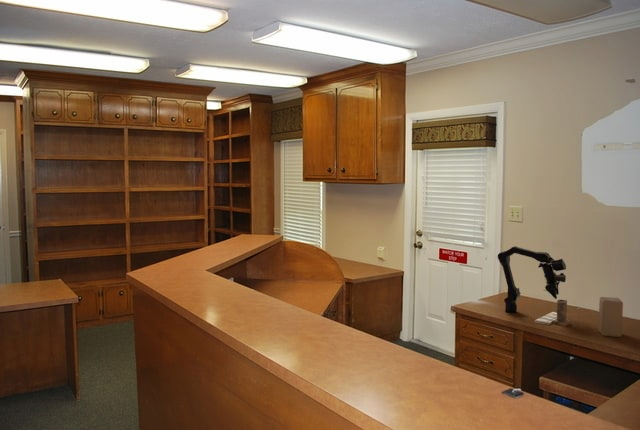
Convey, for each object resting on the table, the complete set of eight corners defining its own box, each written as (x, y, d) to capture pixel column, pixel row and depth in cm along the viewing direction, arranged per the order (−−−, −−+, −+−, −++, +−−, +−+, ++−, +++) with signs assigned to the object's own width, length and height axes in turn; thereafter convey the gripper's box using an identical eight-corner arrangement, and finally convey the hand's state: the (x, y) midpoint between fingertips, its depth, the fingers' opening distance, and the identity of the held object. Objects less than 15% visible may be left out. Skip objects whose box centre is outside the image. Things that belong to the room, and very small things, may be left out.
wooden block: (618, 332, 292) (619, 297, 290) (622, 337, 282) (623, 301, 281) (598, 330, 295) (599, 296, 293) (601, 336, 286) (602, 300, 284)
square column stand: (553, 323, 310) (553, 300, 309) (557, 321, 315) (558, 298, 313) (565, 326, 305) (565, 302, 304) (569, 323, 310) (570, 300, 308)
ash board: (548, 325, 307) (548, 322, 307) (534, 322, 313) (534, 320, 313) (565, 316, 325) (565, 314, 325) (552, 313, 331) (552, 311, 331)
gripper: (560, 273, 309) (569, 298, 308) (564, 266, 324) (572, 289, 324) (541, 277, 315) (549, 301, 314) (545, 270, 330) (553, 293, 330)
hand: (556, 296), depth 321 cm, fingers open, 9 cm apart
